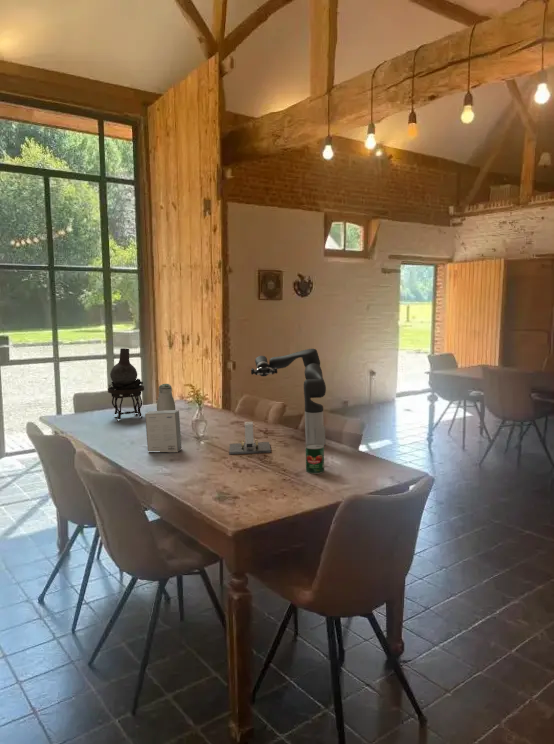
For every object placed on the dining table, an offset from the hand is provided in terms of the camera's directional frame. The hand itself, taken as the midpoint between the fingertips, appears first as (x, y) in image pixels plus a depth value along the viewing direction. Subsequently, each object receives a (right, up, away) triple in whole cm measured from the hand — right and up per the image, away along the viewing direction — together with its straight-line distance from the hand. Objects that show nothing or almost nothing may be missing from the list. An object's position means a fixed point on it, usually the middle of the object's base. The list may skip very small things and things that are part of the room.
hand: (264, 372), depth 305 cm
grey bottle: (-56, -34, +20) cm, 68 cm away
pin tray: (-7, -38, -21) cm, 44 cm away
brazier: (-90, -29, +66) cm, 115 cm away
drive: (-7, -37, -21) cm, 43 cm away
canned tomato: (+23, -42, -60) cm, 77 cm away
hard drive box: (-49, -39, -19) cm, 66 cm away
